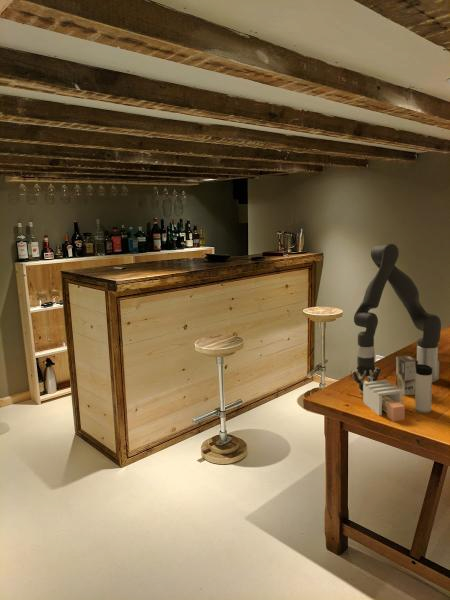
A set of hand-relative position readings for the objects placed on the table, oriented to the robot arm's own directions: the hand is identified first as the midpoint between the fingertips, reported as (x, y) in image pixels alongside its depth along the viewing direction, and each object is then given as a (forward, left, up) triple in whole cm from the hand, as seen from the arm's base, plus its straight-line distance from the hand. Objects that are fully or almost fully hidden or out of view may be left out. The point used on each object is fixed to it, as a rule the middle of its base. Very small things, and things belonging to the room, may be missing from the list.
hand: (365, 390), depth 208 cm
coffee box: (-19, +2, -2) cm, 19 cm away
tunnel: (0, +14, -2) cm, 15 cm away
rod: (0, +10, -1) cm, 10 cm away
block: (0, +25, -2) cm, 25 cm away
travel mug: (-14, +22, -2) cm, 27 cm away
